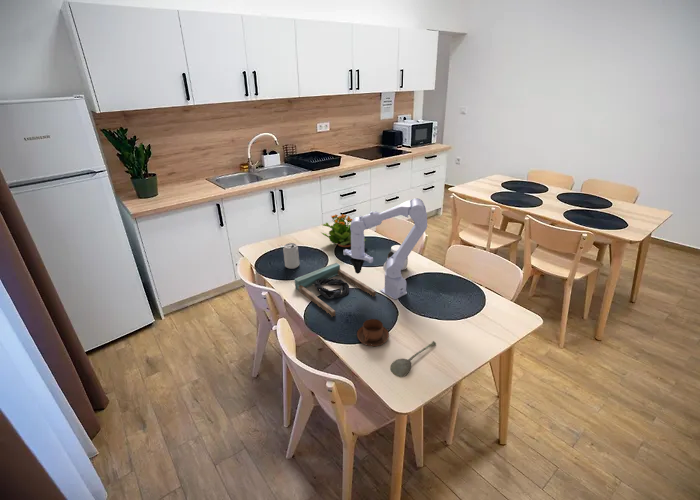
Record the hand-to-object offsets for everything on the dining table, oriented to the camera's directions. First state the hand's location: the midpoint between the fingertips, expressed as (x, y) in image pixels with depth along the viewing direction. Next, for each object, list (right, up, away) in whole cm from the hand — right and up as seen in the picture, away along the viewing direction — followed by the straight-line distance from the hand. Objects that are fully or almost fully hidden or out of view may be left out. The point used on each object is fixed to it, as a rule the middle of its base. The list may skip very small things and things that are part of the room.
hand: (358, 272), depth 160 cm
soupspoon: (+19, -28, -35) cm, 49 cm away
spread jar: (+19, 0, +20) cm, 28 cm away
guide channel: (-11, -9, +3) cm, 14 cm away
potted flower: (-6, +13, +48) cm, 50 cm away
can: (-34, +2, +26) cm, 43 cm away
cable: (-12, -9, +6) cm, 16 cm away
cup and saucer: (+5, -23, -25) cm, 35 cm away
